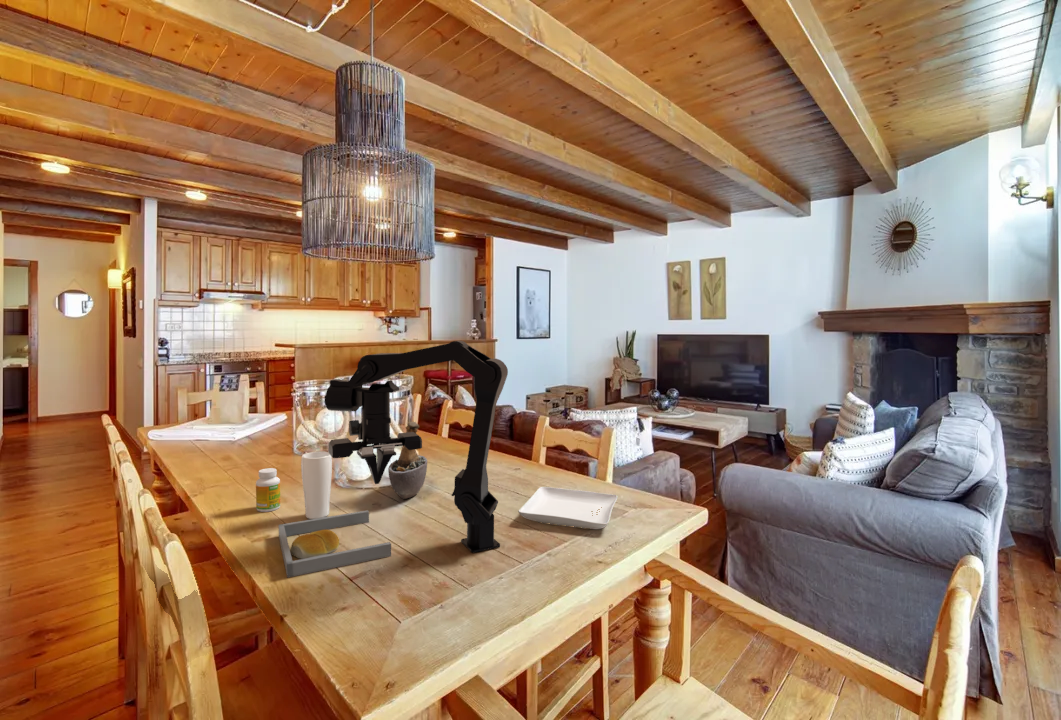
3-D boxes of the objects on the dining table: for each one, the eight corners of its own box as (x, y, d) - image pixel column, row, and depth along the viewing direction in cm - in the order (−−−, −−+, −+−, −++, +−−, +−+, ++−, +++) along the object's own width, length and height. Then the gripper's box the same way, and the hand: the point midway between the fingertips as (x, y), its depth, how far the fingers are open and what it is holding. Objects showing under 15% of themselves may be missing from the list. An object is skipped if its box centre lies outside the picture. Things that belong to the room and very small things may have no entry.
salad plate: (618, 505, 136) (618, 493, 136) (607, 537, 116) (607, 522, 116) (540, 497, 142) (540, 484, 142) (516, 526, 122) (516, 511, 121)
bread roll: (347, 548, 108) (346, 529, 108) (307, 564, 101) (306, 544, 101) (323, 538, 113) (323, 520, 113) (283, 553, 106) (283, 533, 105)
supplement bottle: (270, 513, 127) (269, 474, 126) (251, 511, 128) (250, 472, 127) (285, 505, 132) (284, 468, 131) (266, 503, 133) (265, 466, 132)
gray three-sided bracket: (391, 555, 104) (391, 543, 104) (287, 577, 95) (286, 564, 95) (367, 520, 123) (367, 510, 123) (278, 535, 113) (278, 524, 113)
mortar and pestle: (396, 508, 131) (396, 430, 130) (370, 491, 144) (369, 419, 142) (447, 496, 140) (448, 423, 139) (418, 481, 153) (418, 414, 152)
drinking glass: (300, 522, 121) (298, 459, 120) (304, 512, 127) (303, 452, 126) (331, 520, 123) (330, 457, 122) (333, 509, 129) (333, 450, 128)
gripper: (407, 404, 123) (408, 468, 124) (323, 409, 114) (325, 479, 115) (422, 411, 114) (423, 481, 115) (332, 418, 104) (333, 494, 105)
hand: (376, 483), depth 113 cm, fingers closed
